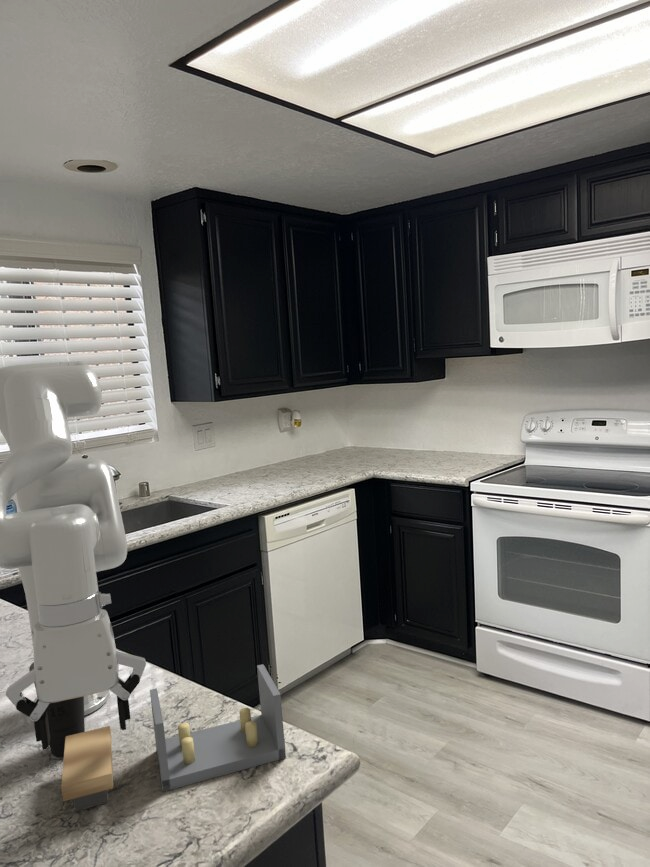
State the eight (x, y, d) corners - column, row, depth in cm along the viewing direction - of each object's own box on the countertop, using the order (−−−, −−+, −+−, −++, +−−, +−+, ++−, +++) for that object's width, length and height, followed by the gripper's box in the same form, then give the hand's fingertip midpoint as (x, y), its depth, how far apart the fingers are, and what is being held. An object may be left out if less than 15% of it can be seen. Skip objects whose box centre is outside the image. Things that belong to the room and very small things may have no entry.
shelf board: (67, 749, 93) (65, 736, 92) (111, 738, 94) (109, 725, 94) (63, 801, 81) (61, 786, 81) (113, 788, 83) (111, 773, 83)
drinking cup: (40, 742, 100) (24, 617, 98) (92, 727, 103) (78, 607, 101) (40, 769, 93) (22, 636, 91) (96, 753, 96) (80, 623, 94)
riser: (76, 775, 91) (74, 755, 91) (106, 767, 93) (104, 748, 92) (75, 811, 84) (72, 789, 83) (107, 802, 85) (105, 781, 85)
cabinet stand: (156, 750, 96) (149, 689, 95) (268, 722, 101) (263, 664, 100) (162, 791, 86) (155, 724, 85) (285, 757, 92) (280, 694, 91)
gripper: (136, 589, 91) (150, 706, 93) (1, 614, 86) (17, 738, 87) (139, 605, 84) (154, 731, 86) (-8, 633, 79) (10, 767, 80)
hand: (85, 734), depth 86 cm, fingers open, 9 cm apart
